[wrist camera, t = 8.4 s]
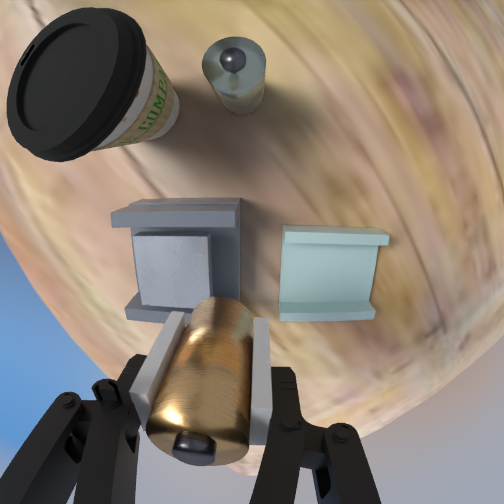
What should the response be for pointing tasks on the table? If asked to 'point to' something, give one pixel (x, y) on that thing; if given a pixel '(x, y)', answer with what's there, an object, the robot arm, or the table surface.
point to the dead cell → (236, 73)
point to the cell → (207, 388)
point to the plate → (173, 267)
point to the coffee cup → (89, 87)
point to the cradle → (194, 220)
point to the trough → (327, 272)
